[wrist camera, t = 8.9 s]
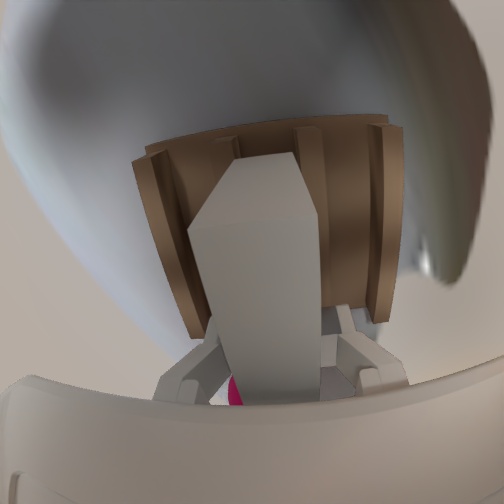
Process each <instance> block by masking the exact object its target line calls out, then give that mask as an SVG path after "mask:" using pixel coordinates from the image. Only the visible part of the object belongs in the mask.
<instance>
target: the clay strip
mask: <svg viewBox="0 0 504 504" xmlns="http://www.w3.org/2000/svg"><path fill="white" fill-rule="evenodd" d="M187 231H188V235H189V238H190V242H191V245H192V249H193V253H194V256H195V260H196V263H197V267H198V270H199V273H200V277H201V280H202V283H203V287H204V290H205V293H206V297H207V300H208V303H209V306H210V309H211V313H212V316H213V319H214V322H215V325H216V328H217V331H218V334H219V337H220V340H221V343H222V346H223V349H224V352H225V355H226V358H227V361H228V364H229V366H230V369H231V372H232V375H233V378H234V380H235V383H236V386H237V389H238V391H239V394H240V397H241V400H242V402H243V405H279V404H295V403H307V402H317V401H319V399H320V375H321V275H320V250H319V231H318V215H317V212H316V209H315V207H314V204H313V202H312V199H311V196H310V194H309V191H308V189H307V186H306V184H305V181H304V179H303V177H302V174H301V172H300V169H299V167H298V164H297V162H296V160H295V157H294V155H293V153H292V152H288V153H279V154H270V155H263V156H255V157H248V158H241V159H234V161H233V162H232V163H231V165H230V166H229V168H228V169H227V171H226V172H225V173H224V175H223V176H222V178H221V179H220V181H219V182H218V184H217V185H216V187H215V188H214V190H213V191H212V193H211V194H210V196H209V197H208V199H207V200H206V202H205V203H204V205H203V206H202V208H201V209H200V211H199V212H198V214H197V215H196V217H195V218H194V220H193V221H192V223H191V225H190V226H189V228H188V229H187Z"/></svg>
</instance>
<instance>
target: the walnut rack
mask: <svg viewBox="0 0 504 504" xmlns="http://www.w3.org/2000/svg"><path fill="white" fill-rule="evenodd" d="M145 150H146V154H147V155H145V156H143V157H141V158H139V159H137V160H135V161H133V162H132V166H133V170H134V174H135V178H136V181H137V185H138V189H139V192H140V196H141V199H142V203H143V206H144V209H145V213H146V216H147V219H148V223H149V226H150V229H151V232H152V235H153V238H154V241H155V244H156V248H157V250H158V253H159V256H160V259H161V262H162V265H163V268H164V271H165V274H166V276H167V279H168V282H169V285H170V287H171V290H172V293H173V295H174V298H175V300H176V303H177V306H178V308H179V311H180V313H181V316H182V318H183V321H184V323H185V326H186V328H187V331H188V333H189V335H190V338H191V339H204V338H205V334H206V330H207V327H208V323H209V320H210V317H211V316H212V313H211V309H210V306H209V303H208V300H207V297H206V293H205V290H204V287H203V283H202V280H201V277H200V273H199V270H198V267H197V263H196V260H195V256H194V253H193V249H192V245H191V242H190V238H189V235H188V231H187V229H188V228H189V226H190V225H191V223H192V221H193V220H194V218H195V217H196V215H197V214H198V212H199V211H200V209H201V208H202V206H203V205H204V203H205V202H206V200H207V199H208V197H209V196H210V194H211V193H212V191H213V190H214V188H215V187H216V185H217V184H218V182H219V181H220V179H221V178H222V176H223V175H224V173H225V172H226V171H227V169H228V168H229V166H230V165H231V163H232V162H233V161H234V159H241V158H248V157H255V156H263V155H270V154H279V153H288V152H292V153H293V155H294V157H295V160H296V162H297V164H298V167H299V169H300V172H301V174H302V177H303V179H304V181H305V184H306V186H307V189H308V191H309V194H310V196H311V199H312V202H313V204H314V207H315V209H316V212H317V215H318V231H319V250H320V275H321V307H328V306H335V305H341V304H348V305H349V308H350V309H352V308H360V307H367V308H368V311H369V314H370V316H371V319H372V322H373V324H376V323H383V322H388V321H389V317H390V312H391V306H392V301H393V294H394V289H395V282H396V275H397V267H398V259H399V250H400V240H401V228H402V213H403V189H404V152H403V128H402V127H399V126H395V125H391V124H388V115H382V114H356V115H330V116H315V117H302V118H292V119H282V120H274V121H266V122H258V123H251V124H245V125H239V126H233V127H227V128H221V129H216V130H211V131H206V132H201V133H196V134H191V135H187V136H182V137H178V138H174V139H170V140H166V141H162V142H158V143H154V144H151V145H148V146H146V147H145Z"/></svg>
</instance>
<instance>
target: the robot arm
mask: <svg viewBox="0 0 504 504" xmlns="http://www.w3.org/2000/svg"><path fill="white" fill-rule="evenodd" d="M329 366H336V367H337V369H338V370H339V371H340V372H341V373H342V374H343V375H344V376H345V377H346V378H347V379H348V380H349V381H350V383H351V384H352V385H353V386H354V387H355V388H356V391H355V395H354V397H349V398H342V399H335V400H326V401H317V402H307V403H295V404H279V405H210V403H209V400H210V399H211V398H212V397H213V395H214V394H215V393H216V392H217V391H218V389H219V388H220V387H221V386H222V385H223V383H224V382H225V381H226V380H227V378H228V377H229V376H230V375H231V373H232V372H231V369H230V366H229V364H228V361H227V358H226V355H225V352H224V349H223V346H222V343H221V340H220V337H219V334H218V331H217V328H216V325H215V322H214V319H213V316H211V317H210V320H209V323H208V327H207V330H206V334H205V338H204V341H203V344H199V345H197V346H196V347H195V348H194V349H193V350H192V351H190V352H189V353H188V354H187V355H186V356H185V357H183V358H182V359H181V360H180V361H179V362H178V363H176V364H175V365H174V366H173V367H172V368H170V370H168V371H167V372H166V373H165V374H164V375H162V376H161V377H160V379H159V382H158V385H157V388H156V390H155V393H154V396H153V399H152V400H146V399H139V398H132V397H125V396H119V395H113V394H108V393H102V392H98V391H93V390H88V389H83V388H79V387H75V386H71V385H67V384H63V383H59V382H56V381H52V380H48V379H45V378H42V377H39V376H36V375H27V376H25V377H23V378H22V379H20V380H18V381H17V382H15V383H14V384H12V385H10V386H9V387H8V388H7V389H5V390H4V391H3V392H2V394H1V395H0V504H504V355H502V356H500V357H497V358H495V359H492V360H490V361H487V362H485V363H482V364H479V365H477V366H474V367H471V368H469V369H465V370H462V371H459V372H457V373H453V374H450V375H447V376H444V377H440V378H437V379H433V380H430V381H426V382H422V383H418V384H415V385H411V386H410V385H409V382H408V379H407V377H406V374H405V371H404V368H403V365H402V362H401V361H400V360H399V359H397V358H396V357H394V356H393V355H392V354H390V353H389V352H388V351H386V350H385V349H383V348H382V347H380V346H379V345H378V344H377V343H375V342H374V341H373V340H371V339H370V338H368V337H367V336H366V335H364V334H363V333H362V332H360V331H359V332H356V328H355V325H354V321H353V318H352V315H351V311H350V308H349V305H348V304H341V305H335V306H328V307H321V367H329Z"/></svg>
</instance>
